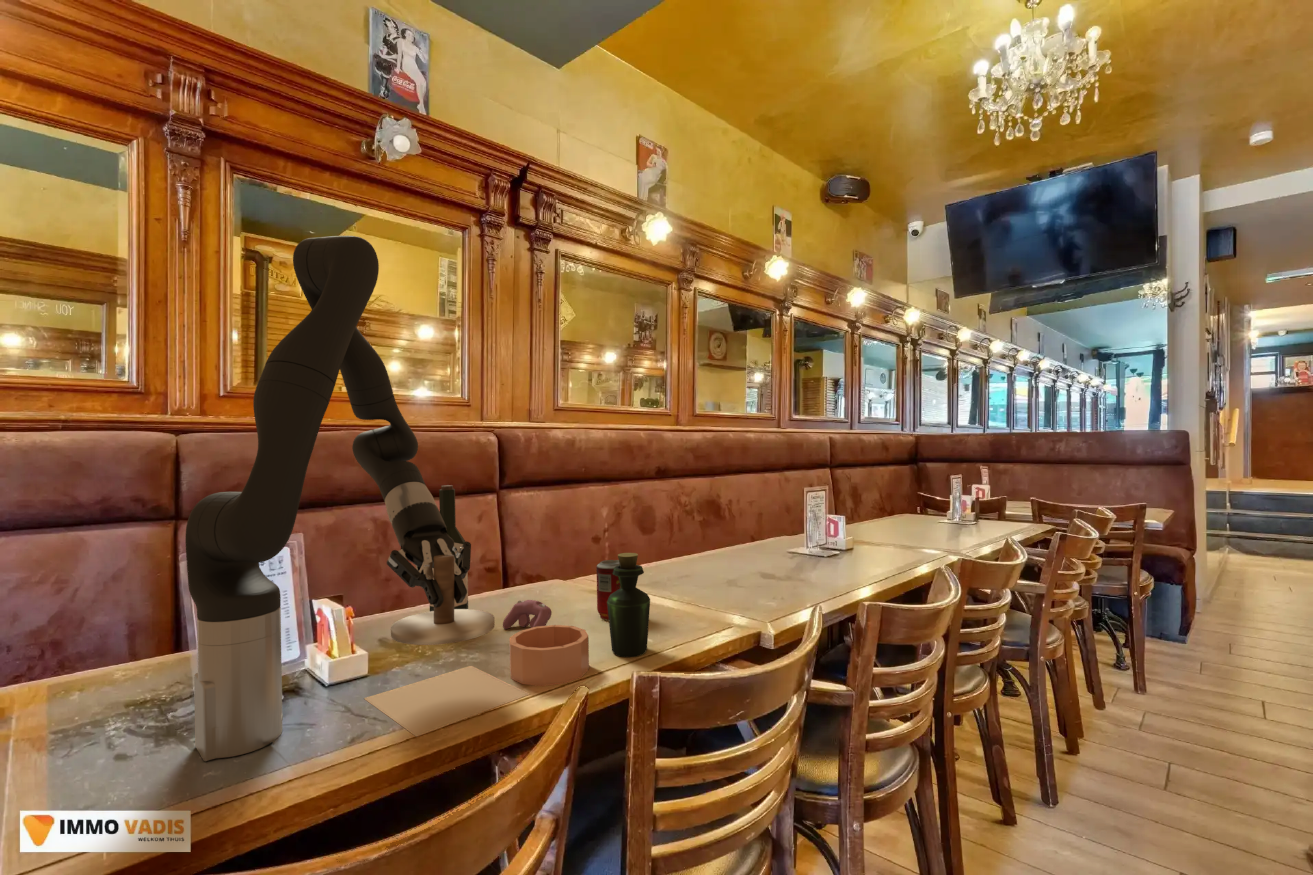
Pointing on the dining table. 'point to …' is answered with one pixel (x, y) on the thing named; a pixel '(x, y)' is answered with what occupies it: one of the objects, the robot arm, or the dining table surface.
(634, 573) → the potion bottle
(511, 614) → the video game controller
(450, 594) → the lid
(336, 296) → the robot arm
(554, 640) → the bowl
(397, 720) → the cork mat
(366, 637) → the dining table surface
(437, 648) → the dining table surface
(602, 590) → the soda can
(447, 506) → the wine bottle
